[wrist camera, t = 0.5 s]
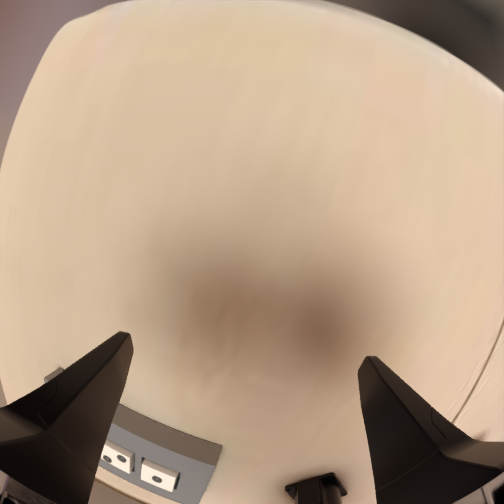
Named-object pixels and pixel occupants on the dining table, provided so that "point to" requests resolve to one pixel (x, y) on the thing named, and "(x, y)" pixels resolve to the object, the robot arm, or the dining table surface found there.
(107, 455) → the tile two
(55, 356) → the dining table surface
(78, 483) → the robot arm
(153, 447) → the tile board
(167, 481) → the tile one
